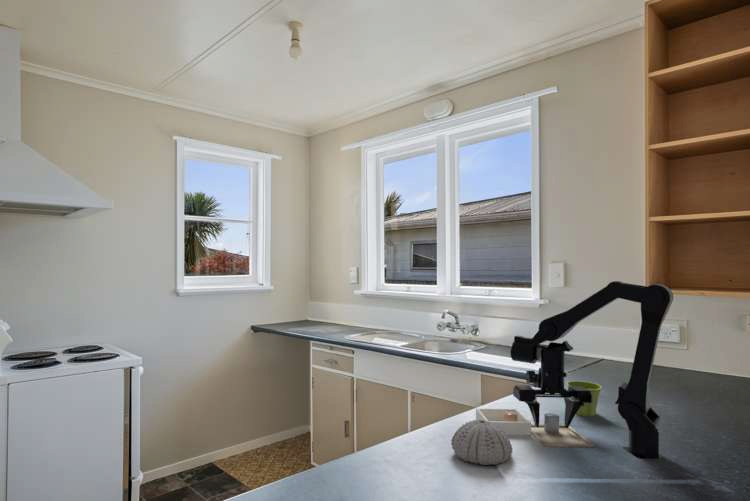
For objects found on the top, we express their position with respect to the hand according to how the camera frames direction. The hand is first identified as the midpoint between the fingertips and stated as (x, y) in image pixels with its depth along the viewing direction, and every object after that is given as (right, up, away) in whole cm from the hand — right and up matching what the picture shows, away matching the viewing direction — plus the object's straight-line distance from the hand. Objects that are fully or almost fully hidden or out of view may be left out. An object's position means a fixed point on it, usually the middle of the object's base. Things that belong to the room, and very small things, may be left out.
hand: (551, 427), depth 121 cm
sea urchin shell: (-22, -1, -16) cm, 27 cm away
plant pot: (+15, -3, +16) cm, 23 cm away
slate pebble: (0, -1, 0) cm, 1 cm away
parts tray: (0, -2, -3) cm, 4 cm away
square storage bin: (-12, -1, +2) cm, 12 cm away
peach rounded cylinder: (-11, -1, +1) cm, 11 cm away
